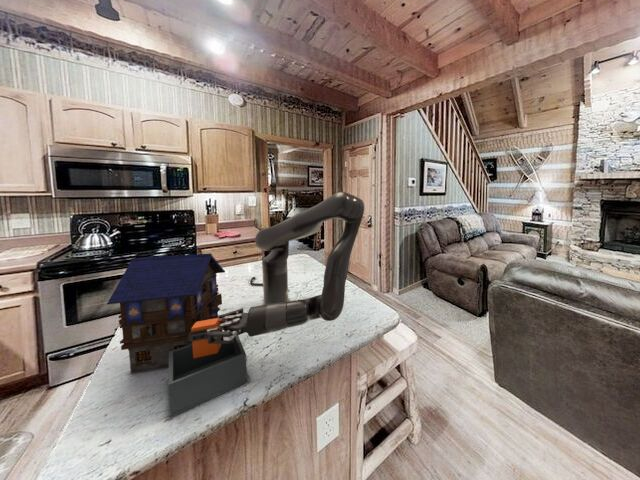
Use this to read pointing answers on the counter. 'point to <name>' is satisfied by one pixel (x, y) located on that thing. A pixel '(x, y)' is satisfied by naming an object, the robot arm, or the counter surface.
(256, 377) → the counter surface
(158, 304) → the miniature building
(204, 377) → the bin
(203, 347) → the block
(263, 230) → the robot arm
